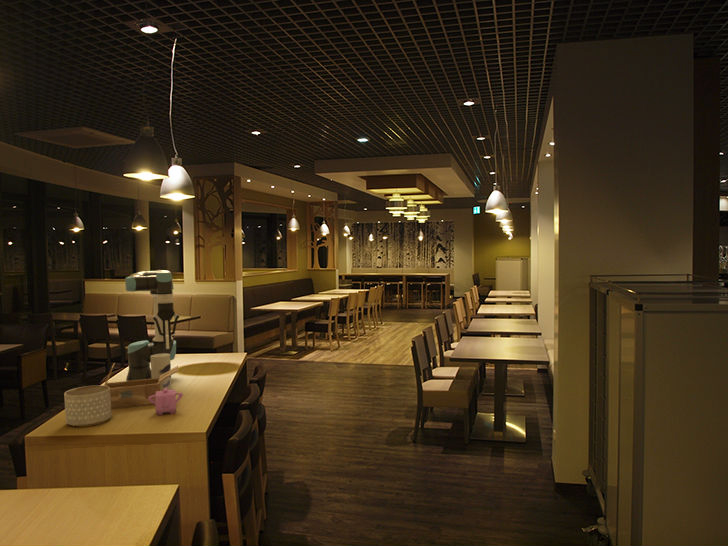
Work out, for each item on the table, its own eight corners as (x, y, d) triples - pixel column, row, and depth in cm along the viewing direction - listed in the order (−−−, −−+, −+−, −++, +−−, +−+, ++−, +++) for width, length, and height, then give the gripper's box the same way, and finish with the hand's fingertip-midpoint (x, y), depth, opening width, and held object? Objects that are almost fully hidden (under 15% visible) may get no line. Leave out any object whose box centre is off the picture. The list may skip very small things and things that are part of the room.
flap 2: (159, 376, 300) (177, 365, 302) (160, 376, 300) (178, 366, 302) (159, 381, 288) (177, 370, 291) (159, 381, 289) (178, 371, 291)
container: (165, 394, 307) (163, 356, 306) (148, 393, 309) (146, 356, 308) (175, 389, 317) (173, 353, 316) (158, 389, 319) (156, 353, 318)
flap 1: (106, 381, 292) (114, 362, 293) (107, 381, 292) (115, 362, 293) (103, 386, 281) (111, 367, 282) (104, 386, 281) (112, 367, 282)
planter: (64, 430, 249) (62, 397, 248) (67, 419, 266) (65, 388, 265) (111, 424, 256) (109, 392, 255) (111, 413, 273) (109, 383, 272)
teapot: (188, 410, 274) (187, 387, 273) (165, 418, 262) (164, 394, 262) (167, 406, 282) (165, 384, 281) (143, 414, 270) (142, 391, 270)
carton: (107, 402, 294) (106, 382, 294) (161, 396, 302) (160, 377, 302) (103, 410, 279) (102, 389, 279) (160, 403, 287) (159, 384, 287)
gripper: (151, 303, 288) (154, 350, 289) (179, 302, 292) (181, 348, 294) (151, 302, 295) (154, 348, 296) (178, 300, 299) (180, 346, 301)
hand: (167, 348), depth 295 cm, fingers closed
